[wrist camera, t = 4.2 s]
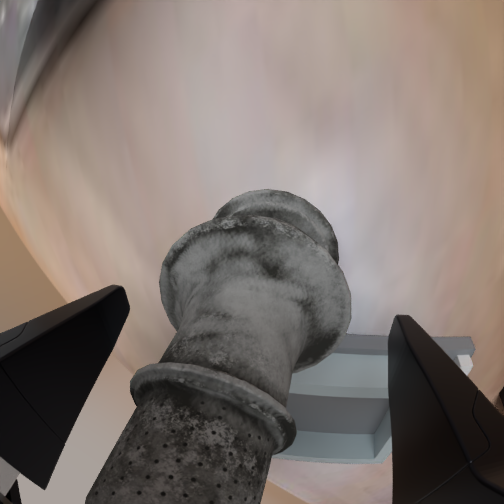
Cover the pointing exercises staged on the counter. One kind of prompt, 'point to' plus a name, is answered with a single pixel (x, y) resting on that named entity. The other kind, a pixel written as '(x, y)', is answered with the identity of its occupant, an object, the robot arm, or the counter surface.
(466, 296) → the counter surface
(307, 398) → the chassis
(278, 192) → the grey stone chess piece
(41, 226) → the counter surface
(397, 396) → the robot arm
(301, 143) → the counter surface
